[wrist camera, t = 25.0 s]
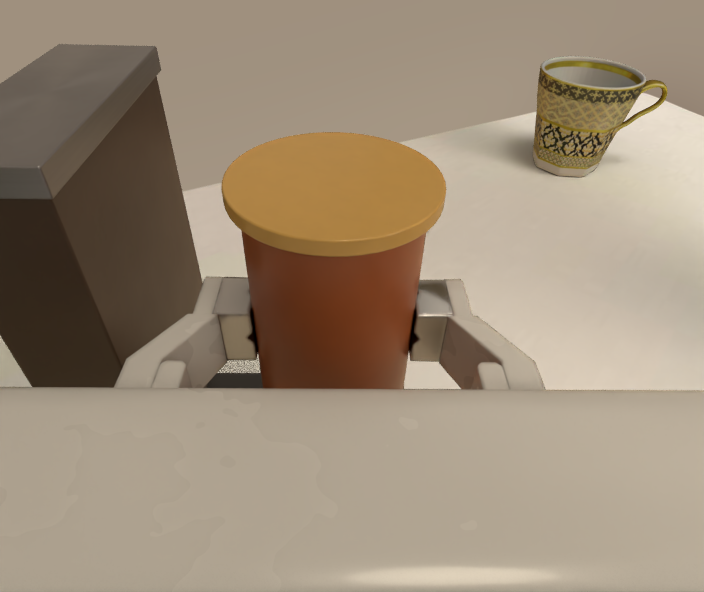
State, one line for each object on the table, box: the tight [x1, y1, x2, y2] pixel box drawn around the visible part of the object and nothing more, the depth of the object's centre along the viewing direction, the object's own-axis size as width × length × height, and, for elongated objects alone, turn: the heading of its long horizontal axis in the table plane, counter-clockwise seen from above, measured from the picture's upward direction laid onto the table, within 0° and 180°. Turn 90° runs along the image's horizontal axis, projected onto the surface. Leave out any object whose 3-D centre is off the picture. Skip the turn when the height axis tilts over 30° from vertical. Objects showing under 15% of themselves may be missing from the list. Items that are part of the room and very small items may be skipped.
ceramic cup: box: [533, 56, 667, 177], centre depth 54 cm, size 13×10×10 cm
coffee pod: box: [222, 132, 446, 389], centre depth 15 cm, size 5×5×10 cm
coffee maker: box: [0, 44, 208, 388], centre depth 18 cm, size 12×13×15 cm
